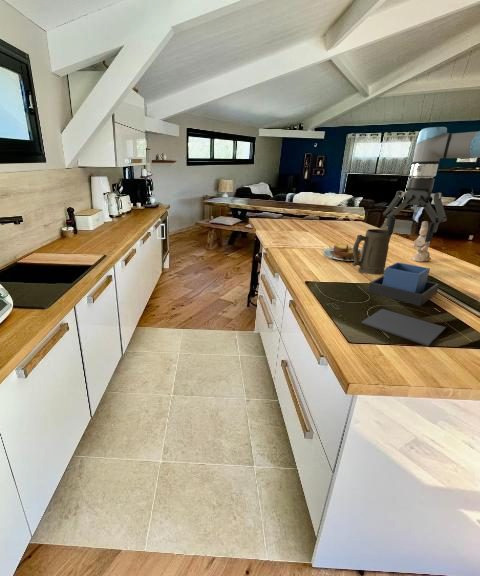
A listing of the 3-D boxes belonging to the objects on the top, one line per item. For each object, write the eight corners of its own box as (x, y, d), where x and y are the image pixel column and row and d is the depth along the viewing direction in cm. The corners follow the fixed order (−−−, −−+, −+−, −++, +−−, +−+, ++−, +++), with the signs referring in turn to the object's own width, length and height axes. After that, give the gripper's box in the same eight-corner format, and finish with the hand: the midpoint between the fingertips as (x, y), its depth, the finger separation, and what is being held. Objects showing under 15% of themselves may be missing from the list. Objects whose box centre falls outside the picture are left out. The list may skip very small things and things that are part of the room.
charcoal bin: (435, 295, 119) (439, 283, 118) (419, 308, 109) (423, 295, 107) (386, 283, 132) (388, 272, 130) (367, 293, 122) (369, 282, 120)
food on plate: (383, 262, 161) (386, 250, 159) (337, 264, 159) (339, 252, 157) (354, 250, 185) (356, 239, 183) (314, 252, 183) (315, 241, 180)
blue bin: (423, 293, 119) (430, 268, 116) (412, 300, 113) (419, 274, 109) (391, 285, 127) (397, 262, 124) (380, 292, 121) (385, 267, 118)
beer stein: (374, 268, 153) (379, 227, 145) (391, 274, 143) (397, 231, 135) (345, 272, 151) (349, 231, 143) (360, 279, 141) (365, 235, 133)
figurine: (414, 257, 170) (423, 220, 163) (432, 260, 163) (442, 222, 156) (407, 260, 165) (416, 221, 158) (425, 263, 159) (436, 223, 152)
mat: (447, 326, 96) (448, 324, 96) (428, 346, 86) (428, 344, 85) (384, 308, 109) (385, 306, 109) (360, 323, 99) (361, 321, 99)
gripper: (380, 177, 117) (369, 233, 124) (459, 178, 96) (441, 245, 104) (391, 176, 120) (380, 231, 128) (470, 177, 100) (452, 243, 107)
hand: (407, 238), depth 116 cm, fingers open, 13 cm apart
